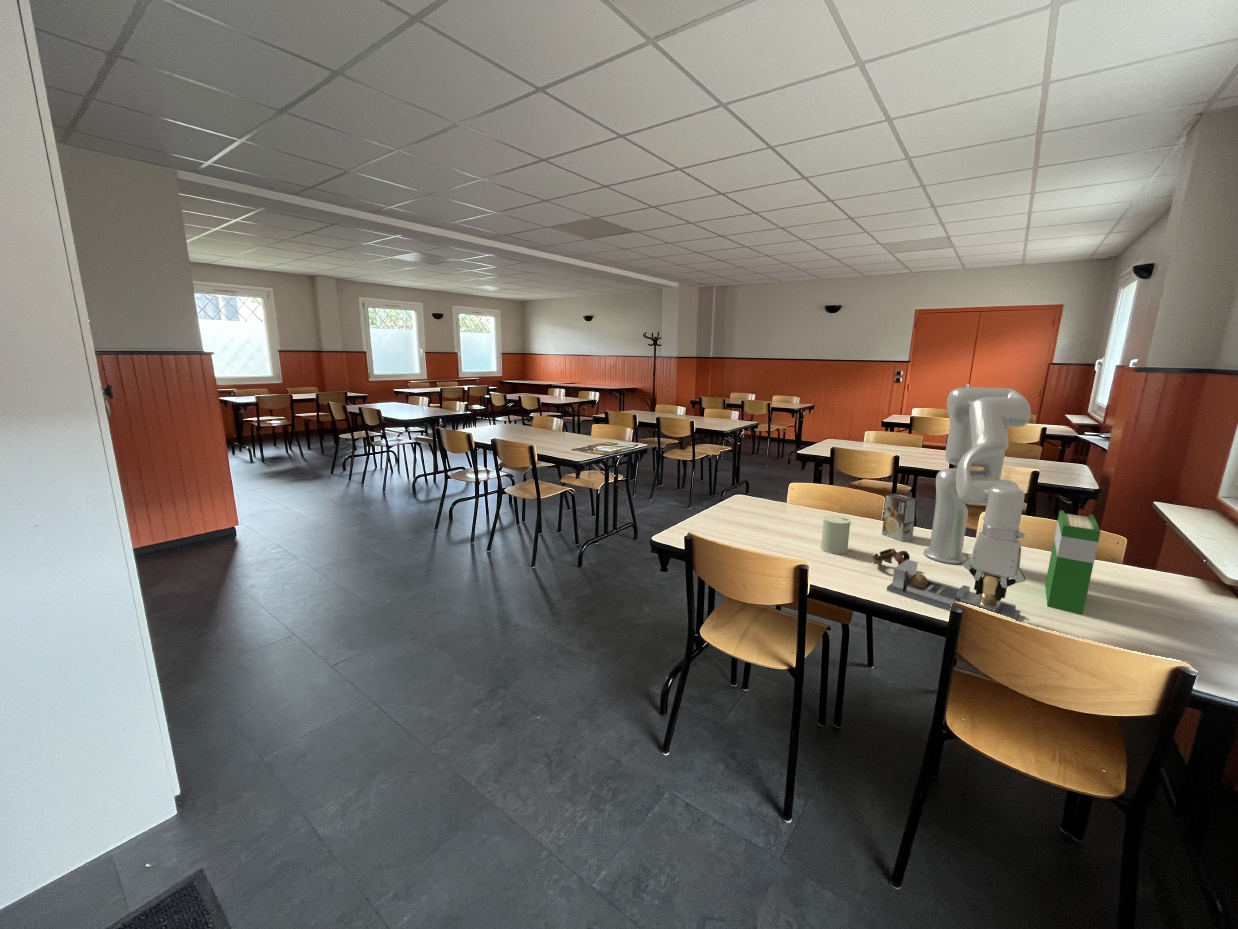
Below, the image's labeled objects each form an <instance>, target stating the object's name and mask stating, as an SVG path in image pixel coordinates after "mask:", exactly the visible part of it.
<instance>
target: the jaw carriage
mask: <svg viewBox="0 0 1238 929" xmlns="http://www.w3.org/2000/svg"><path fill="white" fill-rule="evenodd" d="M982 577H983V579H982V585H981V591H980V594H979V595H977V594H976V592H973V591H971V586H968V585H965V584H963V585H962V586H961V587H960V589H959V590H958V591H957V595H956V600H957V601H960V602H964V603H967V604H970V605H973V606H977V607H980V608H983V609H986V610H989V611H993V612H996V613H998V611H999V610H1000V609H1001V607H1002V601H1003V600H1000V601H997V600H996V599H997V593H998V588H999V586H1000V584H1001V576H999V575H995V574H991V573H987V572H984V573H983V575H982Z"/></svg>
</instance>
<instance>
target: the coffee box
mask: <svg viewBox="0 0 1238 929" xmlns="http://www.w3.org/2000/svg"><path fill="white" fill-rule="evenodd" d="M917 503H918V499H917V498H916V497H911V496H908V495H904V494H900V493H891V494H887V495H886V496H885V504H884V512H883V521H882V522H883V523H882V532H881V535H883V536H887V537H890V538H892V539H894V540H896V541H901V542H906V541H910V540H913V537H914V528H915V519H916V511H917Z"/></svg>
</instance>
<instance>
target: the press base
mask: <svg viewBox="0 0 1238 929" xmlns="http://www.w3.org/2000/svg"><path fill="white" fill-rule="evenodd" d="M918 563H919V562H918V561H914V560H912V559H909V560H908V559H907V560H905V561H904V562H903V563H901V564H900V565H898V564H897V566H895V567H894V569H893V574H892V575H893V577H892V582H891V583H890V584H889V585H888V586H887V587H886V591H887V592H891V593H894V594H896V595H900V596H903V597H906V598H909V599H912V600H914V601H917V602H921V603H924V604H927V605H930V606H932V607H933V606H934V607H936V608H939V609H942V608H943V609H942V610H945V609H946V611H949V612H951V611H950V608H951V605H952V603H953V602H954V601H957V600H956V595H957V591H958V590H959V589H960V588H961V587H960V588H959V587H957V586H956V587H955V586H952V585H949V584H946V583H942V582H939V581H936V580H933V579H929V578H927V580H928V584H927V586H926V587H925V588H923V589H919V588H915V587H914V586H913V585H912V584H911V577H912V576H913V575H914V574H917V569H918ZM1001 601H1002V607H1001V609H1000V610H999V611H998V613H997V614H1000V615H1003V616H1006V617H1010V618H1012V619H1015V620H1016V621H1017V619H1019V618H1020V616H1021V610H1019V609H1016V608H1017V604H1013V603H1010V602H1006V601H1004V600H1001ZM957 602H960V601H957ZM962 603H964V602H962ZM966 604H967V603H966ZM979 608H980V607H979ZM988 611H989V610H988ZM991 612H993V611H991ZM994 613H996V612H994ZM1019 615H1020V616H1019Z"/></svg>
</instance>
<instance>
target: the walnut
mask: <svg viewBox="0 0 1238 929" xmlns="http://www.w3.org/2000/svg"><path fill="white" fill-rule="evenodd" d="M927 579H928V578H927V577H926V576H925V575H924V574H921V573H916V574H914V575H913V576H912V577H911V584H912V585H913V586H914V587H915V588H919V589H923V588H925V587H926V586H927V584H928V580H927Z"/></svg>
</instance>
